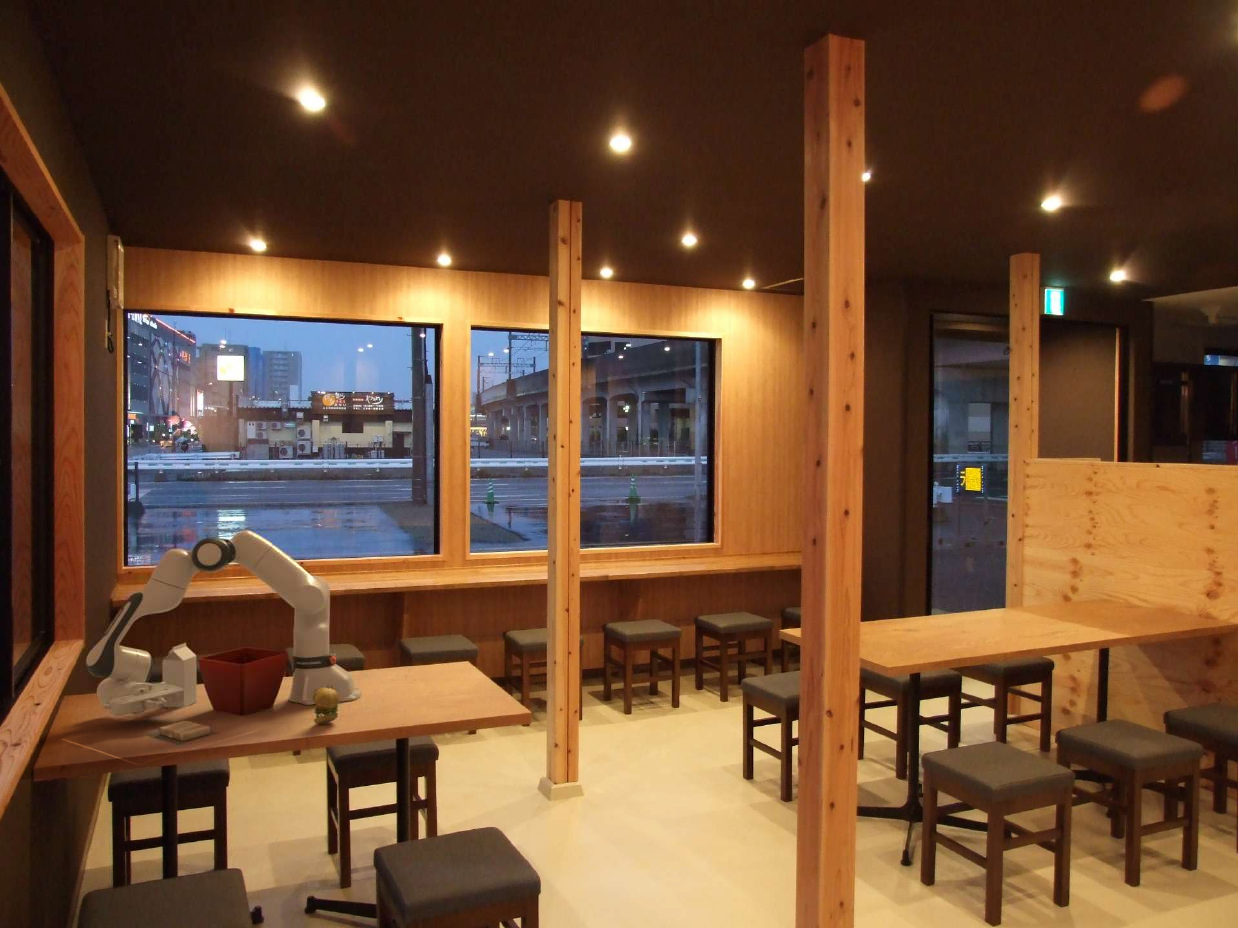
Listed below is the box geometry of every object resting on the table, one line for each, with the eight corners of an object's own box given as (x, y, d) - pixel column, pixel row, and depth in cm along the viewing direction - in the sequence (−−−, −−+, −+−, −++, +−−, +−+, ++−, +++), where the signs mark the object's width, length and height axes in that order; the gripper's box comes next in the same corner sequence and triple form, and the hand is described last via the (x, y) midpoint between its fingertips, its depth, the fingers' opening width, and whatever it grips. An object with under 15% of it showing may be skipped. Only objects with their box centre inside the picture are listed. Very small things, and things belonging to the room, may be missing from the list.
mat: (145, 736, 257) (145, 734, 257) (185, 725, 267) (185, 724, 267) (177, 745, 248) (177, 744, 248) (218, 734, 258) (218, 732, 258)
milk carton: (196, 702, 292) (196, 642, 292) (184, 708, 285) (183, 647, 285) (175, 701, 293) (175, 642, 293) (162, 707, 286) (162, 647, 286)
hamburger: (330, 719, 273) (330, 679, 273) (344, 723, 268) (344, 682, 268) (307, 725, 267) (307, 684, 267) (321, 729, 262) (321, 688, 262)
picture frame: (158, 727, 257) (183, 734, 250) (185, 720, 264) (210, 726, 257) (158, 734, 257) (183, 741, 250) (185, 727, 264) (210, 734, 257)
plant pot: (290, 704, 289) (290, 651, 289) (242, 720, 272) (242, 664, 272) (246, 697, 297) (245, 646, 297) (196, 713, 280) (196, 658, 280)
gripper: (99, 694, 261) (125, 701, 254) (168, 680, 279) (194, 686, 271) (99, 716, 262) (126, 724, 254) (168, 700, 279) (194, 707, 271)
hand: (162, 704), depth 263 cm, fingers closed
